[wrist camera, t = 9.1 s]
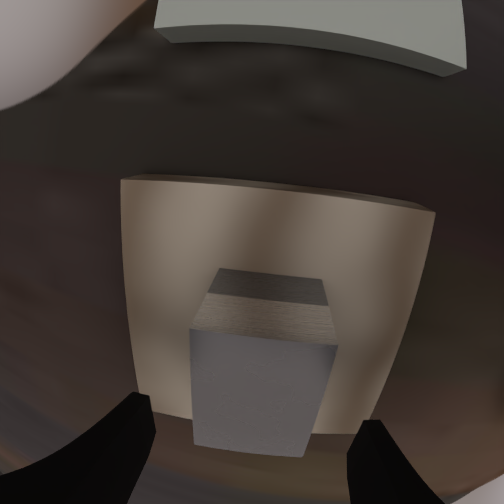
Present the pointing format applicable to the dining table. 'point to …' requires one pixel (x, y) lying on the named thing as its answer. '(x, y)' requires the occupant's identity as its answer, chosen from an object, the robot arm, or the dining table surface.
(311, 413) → the block
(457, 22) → the stand
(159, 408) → the stand
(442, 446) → the dining table surface
